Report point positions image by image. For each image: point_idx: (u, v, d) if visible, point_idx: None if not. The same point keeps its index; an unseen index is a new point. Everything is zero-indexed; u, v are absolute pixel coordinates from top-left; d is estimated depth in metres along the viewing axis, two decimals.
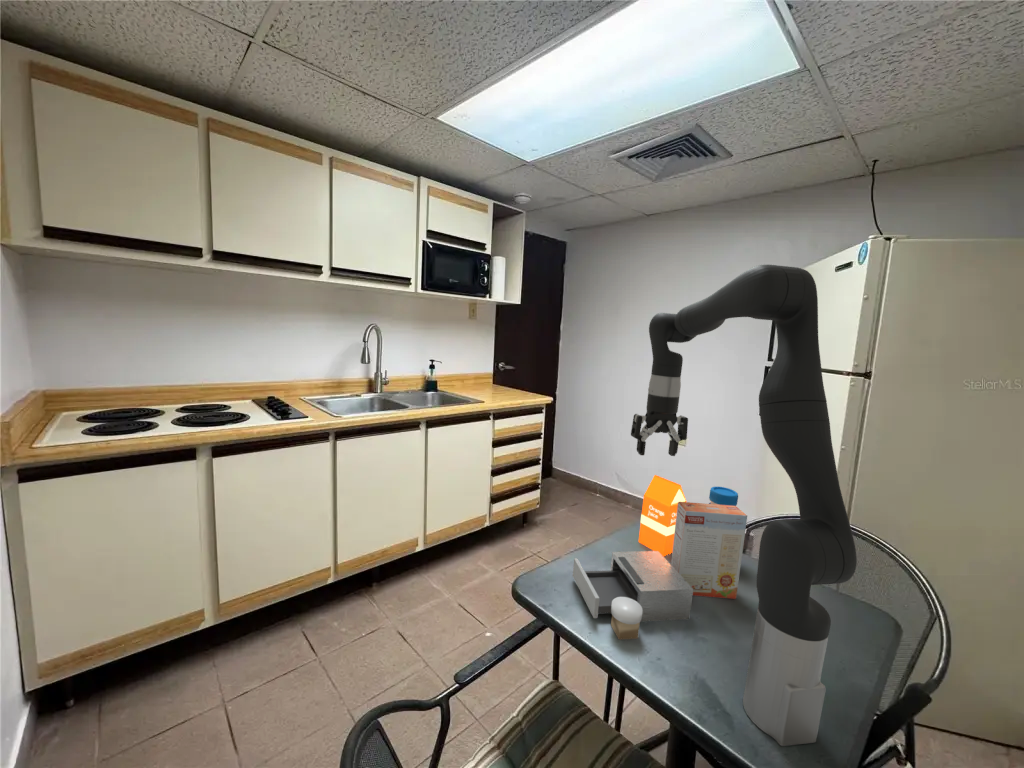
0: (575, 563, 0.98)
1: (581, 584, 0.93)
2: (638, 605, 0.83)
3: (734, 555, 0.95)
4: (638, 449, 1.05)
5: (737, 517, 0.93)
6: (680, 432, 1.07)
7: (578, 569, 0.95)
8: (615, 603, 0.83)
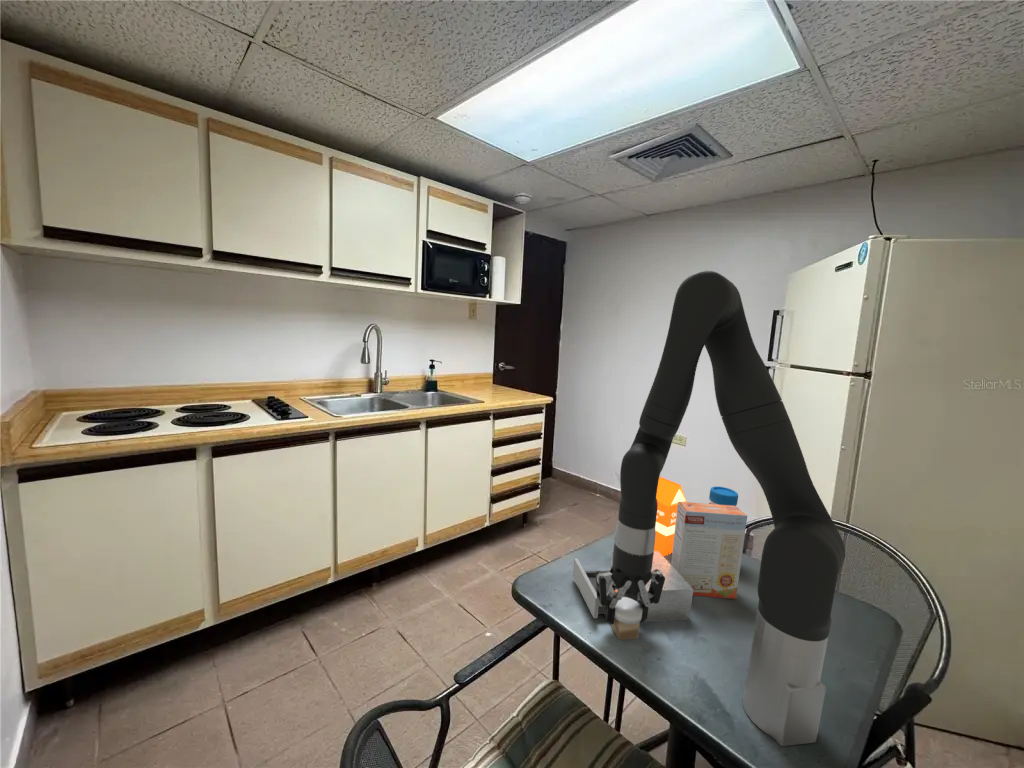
0: (575, 563, 0.98)
1: (581, 584, 0.93)
2: (638, 605, 0.83)
3: (734, 555, 0.95)
4: (606, 616, 0.82)
5: (737, 517, 0.93)
6: (652, 590, 0.84)
7: (578, 569, 0.95)
8: None
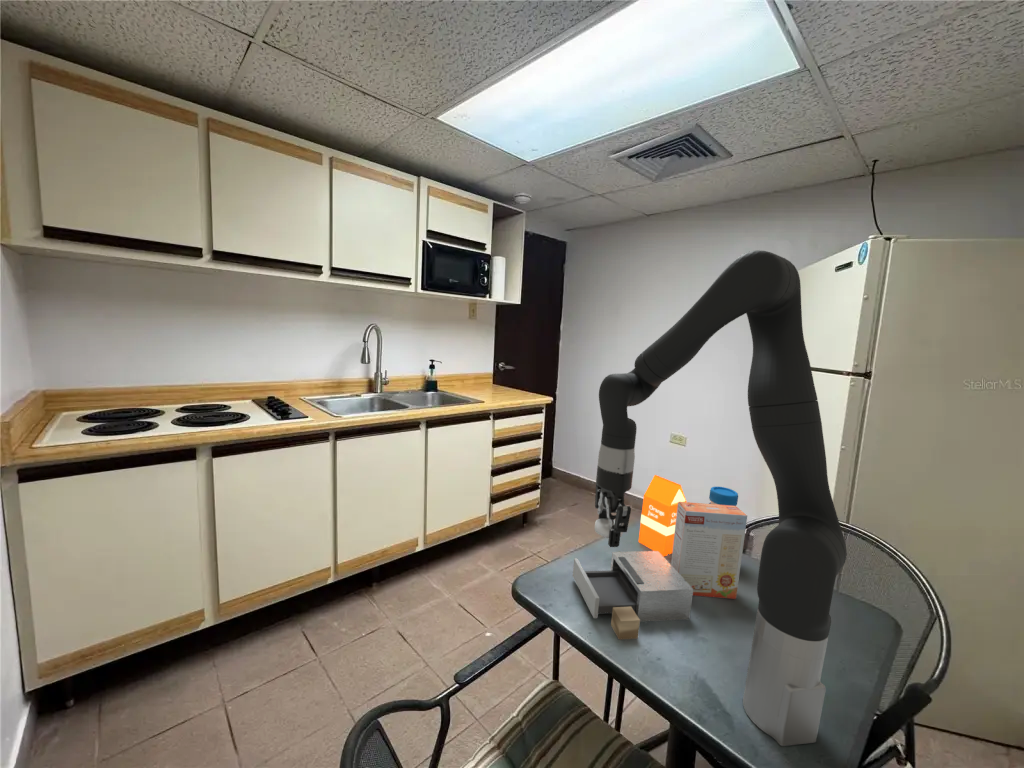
0: (575, 563, 0.98)
1: (581, 584, 0.93)
2: None
3: (734, 555, 0.95)
4: None
5: (737, 517, 0.93)
6: (624, 525, 0.85)
7: (578, 569, 0.95)
8: (609, 520, 0.93)
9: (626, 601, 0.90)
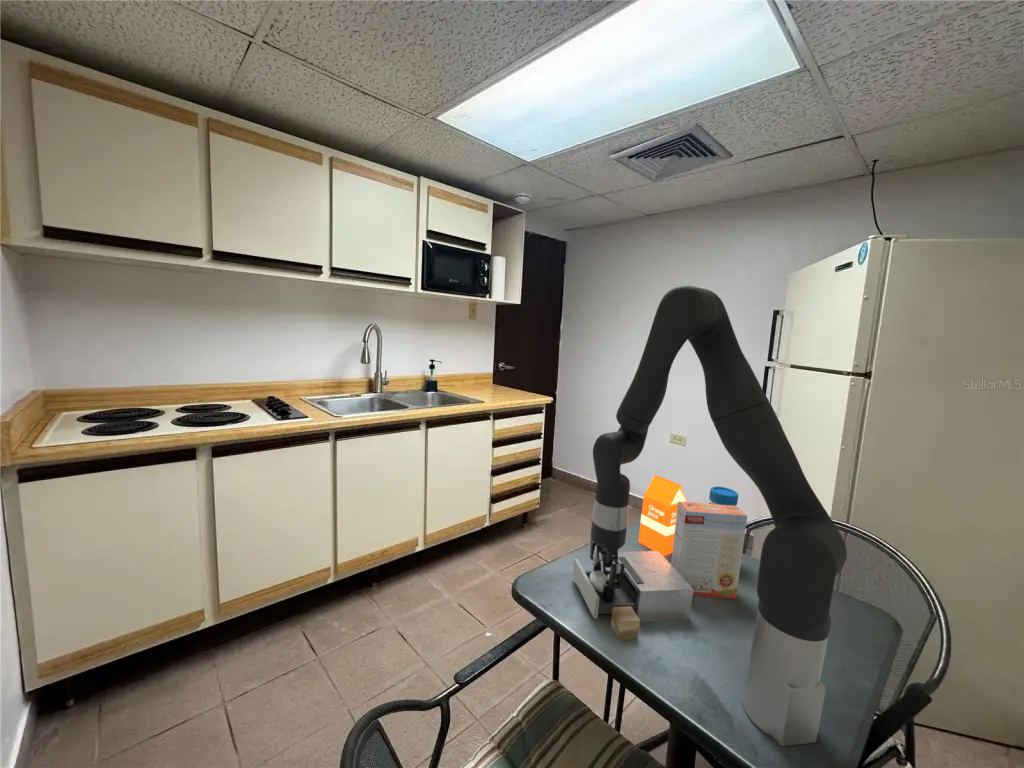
0: (575, 563, 0.98)
1: (581, 584, 0.93)
2: None
3: (734, 555, 0.95)
4: None
5: (737, 517, 0.94)
6: (618, 581, 0.87)
7: (578, 569, 0.95)
8: None
9: (626, 601, 0.90)
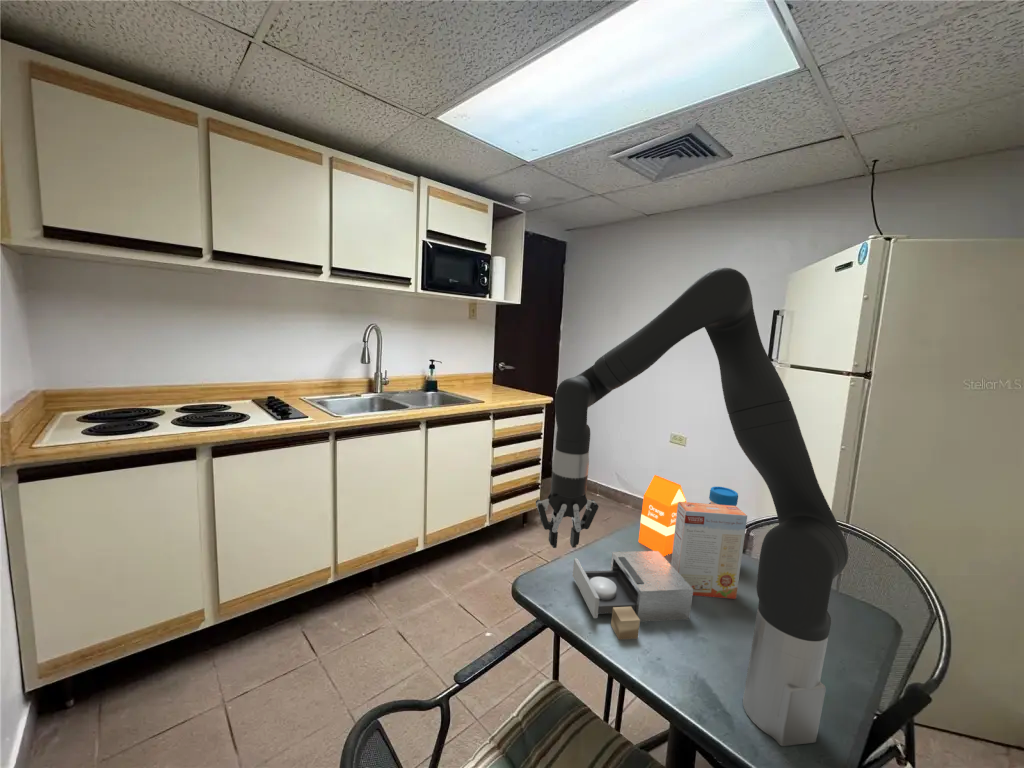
0: (575, 563, 0.98)
1: (581, 584, 0.93)
2: (607, 592, 0.90)
3: (734, 555, 0.95)
4: (549, 540, 0.89)
5: (737, 517, 0.93)
6: (585, 518, 0.90)
7: (578, 569, 0.95)
8: (603, 578, 0.95)
9: (626, 601, 0.90)
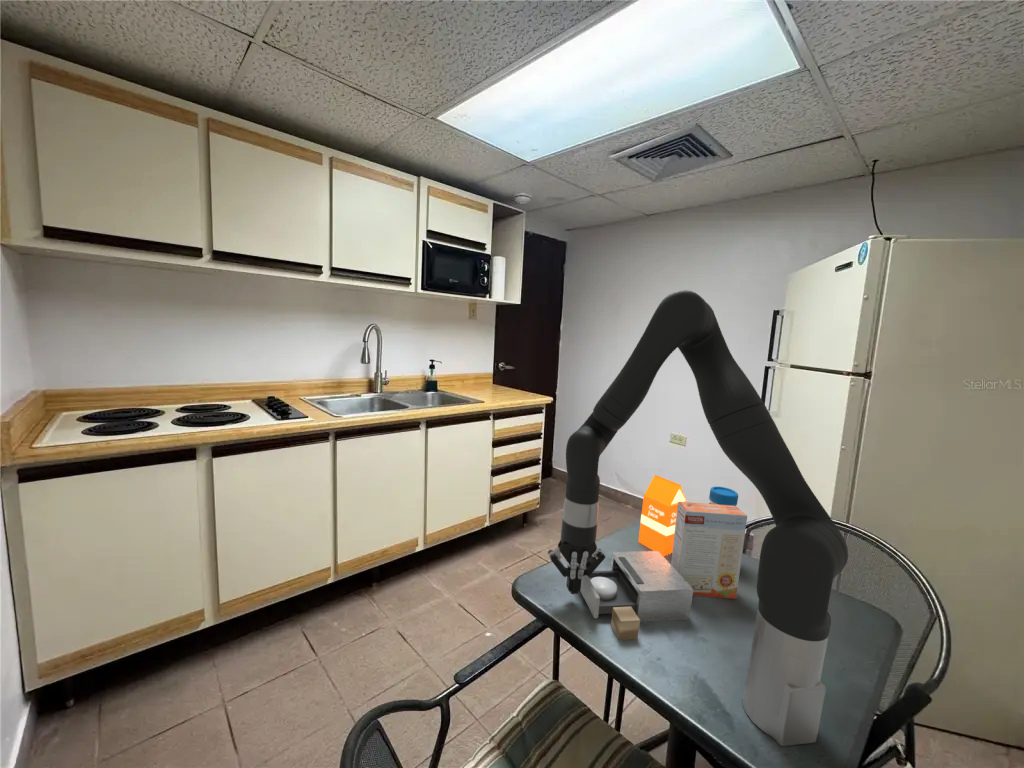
0: None
1: (582, 584, 0.93)
2: (608, 591, 0.90)
3: (734, 555, 0.95)
4: (568, 586, 0.91)
5: (737, 517, 0.93)
6: (587, 565, 0.92)
7: None
8: (603, 578, 0.95)
9: (627, 601, 0.90)
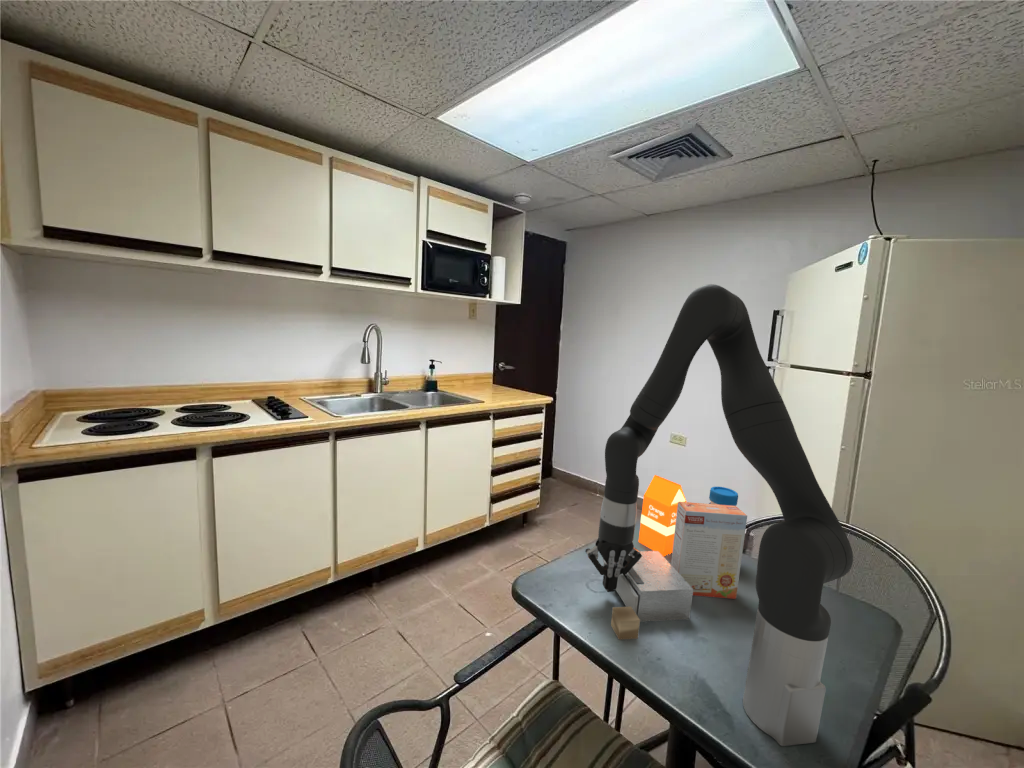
0: None
1: (617, 583, 0.94)
2: None
3: (734, 555, 0.95)
4: (604, 584, 0.92)
5: (737, 517, 0.94)
6: (623, 563, 0.93)
7: None
8: None
9: None
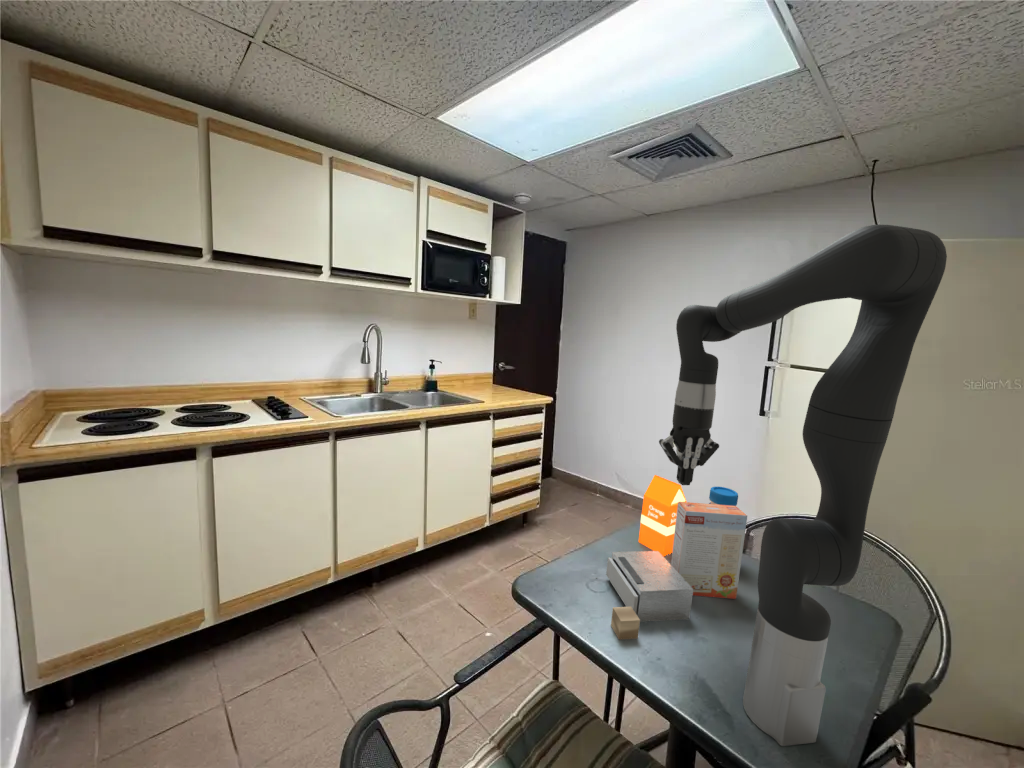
0: (609, 562, 0.99)
1: (617, 583, 0.94)
2: None
3: (734, 555, 0.95)
4: (679, 478, 0.87)
5: (737, 517, 0.93)
6: (698, 456, 0.88)
7: (613, 568, 0.97)
8: None
9: None
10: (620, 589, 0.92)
